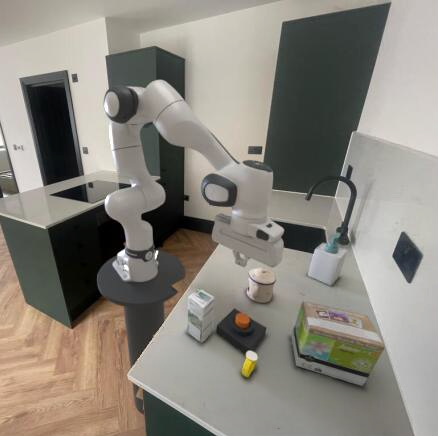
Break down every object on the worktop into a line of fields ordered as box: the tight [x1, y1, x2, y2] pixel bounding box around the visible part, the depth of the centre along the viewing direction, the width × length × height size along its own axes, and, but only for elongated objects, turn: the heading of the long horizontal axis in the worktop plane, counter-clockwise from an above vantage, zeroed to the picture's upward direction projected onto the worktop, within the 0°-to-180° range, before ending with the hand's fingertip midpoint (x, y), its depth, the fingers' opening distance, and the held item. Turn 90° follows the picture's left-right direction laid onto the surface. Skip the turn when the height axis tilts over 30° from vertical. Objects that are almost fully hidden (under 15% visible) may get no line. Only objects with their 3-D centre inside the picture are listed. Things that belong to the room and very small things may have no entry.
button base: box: [215, 308, 267, 356], centre depth 70 cm, size 11×10×5 cm
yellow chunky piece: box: [241, 350, 259, 378], centre depth 59 cm, size 6×3×6 cm, turn 135°
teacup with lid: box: [246, 267, 277, 304], centre depth 83 cm, size 12×9×12 cm
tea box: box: [290, 300, 386, 387], centre depth 60 cm, size 15×10×15 cm
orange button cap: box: [235, 312, 251, 329], centre depth 69 cm, size 4×4×2 cm
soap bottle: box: [307, 232, 348, 287], centre depth 92 cm, size 9×9×19 cm
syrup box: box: [186, 287, 216, 344], centre depth 69 cm, size 6×6×14 cm
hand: (240, 264), depth 68 cm, fingers closed
